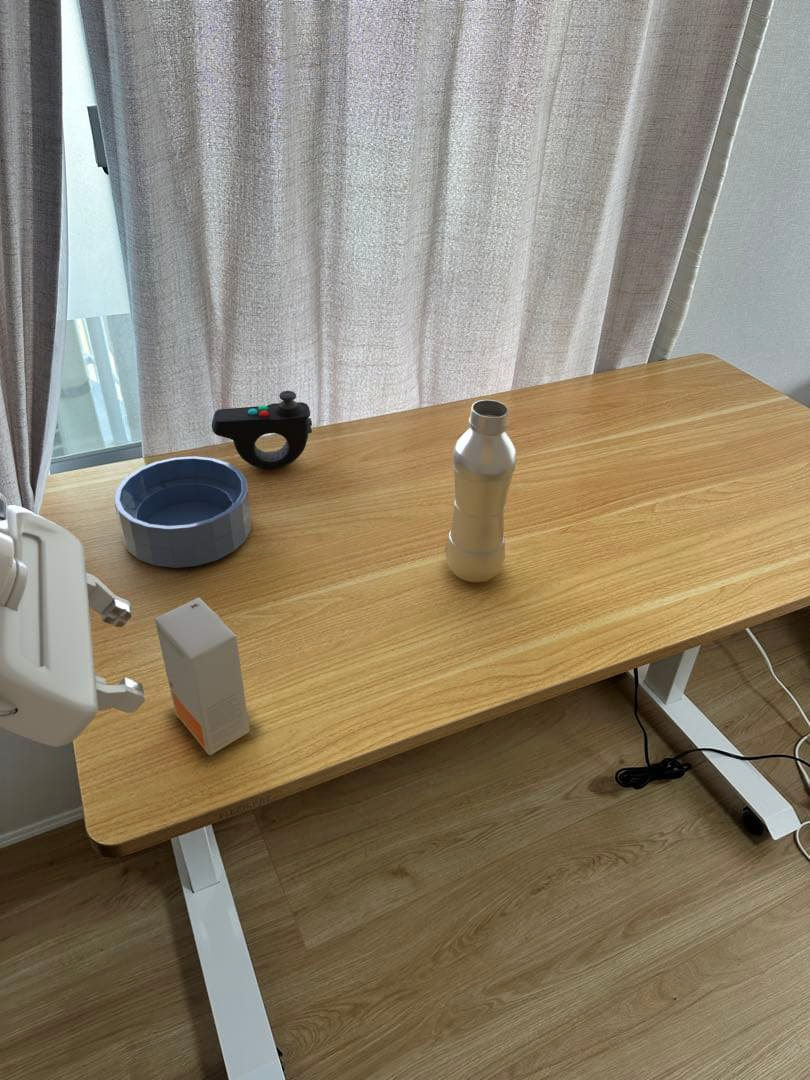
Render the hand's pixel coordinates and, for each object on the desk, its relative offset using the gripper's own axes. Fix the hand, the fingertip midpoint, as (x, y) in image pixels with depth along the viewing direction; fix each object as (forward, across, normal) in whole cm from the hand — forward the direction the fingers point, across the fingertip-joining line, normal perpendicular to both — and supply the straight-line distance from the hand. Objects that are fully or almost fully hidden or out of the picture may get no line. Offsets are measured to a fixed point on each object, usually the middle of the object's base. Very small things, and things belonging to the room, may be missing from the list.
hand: (132, 655), depth 62 cm
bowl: (+13, +29, +3) cm, 32 cm away
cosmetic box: (+12, +1, +4) cm, 12 cm away
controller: (+21, +41, -5) cm, 46 cm away
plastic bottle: (+33, +13, -17) cm, 40 cm away
